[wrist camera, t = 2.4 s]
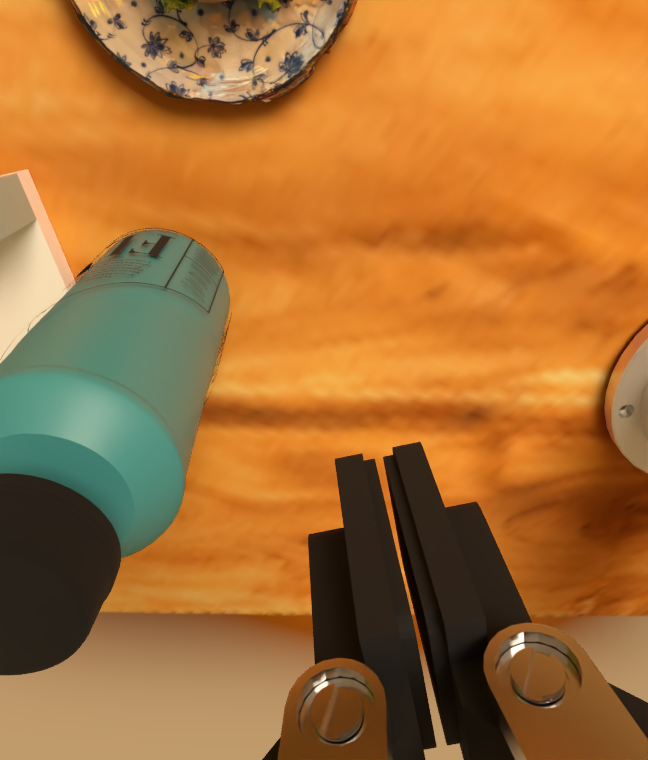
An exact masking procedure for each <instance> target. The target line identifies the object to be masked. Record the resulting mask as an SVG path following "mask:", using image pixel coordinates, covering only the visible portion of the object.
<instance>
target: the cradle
mask: <svg viewBox="0 0 648 760" xmlns="http://www.w3.org/2000/svg"><path fill="white" fill-rule="evenodd" d="M72 280H73V281H72ZM70 282H71V283H70ZM72 282H74V284H73V283H72ZM70 284H71V285H70ZM75 284H76V283H75V279H74V277H73V275H72V272H71V270H70V267H69V265H68V263H67V260H66V258H65V256H64V253H63V251H62V249H61V246H60V244H59V241H58V239H57V237H56V234H55V232H54V230H53V227H52V225H51V223H50V220H49V218H48V215H47V213H46V211H45V208H44V206H43V204H42V201H41V199H40V197H39V194H38V192H37V189H36V187H35V185H34V182H33V180H32V178H31V175H30V173H29V171H28V169H26V170H21V171H17V172H13V173H8V174H4V175H0V359H1V360H0V363H1V362H2V361H3V360H4V359H5V358H6V357H7V356H8V355H9V354H10V353H11V352H12V350H13V349H14V348H15V346H16V345H17V344H18V343H19V342H20V341H21V339H22V338H23V337H24V336H25V335H26V334H27V332H29V331H30V330H31V329H32V328H33V327H34V326H35V325H36V324H37V323H38V322H39V321H40V320H41V319H42V317H43V316H44V315H45V314H46V313H47V312H48V311H49V310H50V309H51V308H52V307H53V306H54V305H55V303H57V302H58V301H59V300H60V299H61V298H62V297H63V296H64V295H65V294H66V293H67V292H68V291H69V290H70V289H71V288H72V287H73V285H75ZM67 287H68V288H67ZM65 288H66V289H65ZM64 289H65V290H64ZM53 304H54V305H53ZM50 306H51V307H50ZM47 308H48V309H47ZM45 310H46V311H45ZM43 311H45V312H43ZM41 312H42V313H41ZM40 314H41V315H40ZM37 315H38V317H37ZM32 320H33V321H32ZM29 323H31V324H29ZM28 324H29V325H30V327H29V325H28ZM28 328H29V331H28ZM16 336H17V337H16ZM12 341H13V342H12ZM9 345H10V346H9ZM7 348H8V349H7ZM6 349H7V350H6ZM4 352H5V353H4ZM3 354H4V355H3ZM1 357H2V358H1Z"/></svg>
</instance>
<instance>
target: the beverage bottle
mask: <svg viewBox="0 0 648 760" xmlns="http://www.w3.org/2000/svg"><path fill="white" fill-rule="evenodd" d="M145 229H152V228H145ZM156 229H161V228H156ZM139 230H141V229H139ZM165 230H168V229H165ZM135 231H136V230H135ZM170 231H172V230H170ZM131 232H132V231H131ZM174 232H176V231H174ZM128 233H129V232H128ZM133 233H135V234H133ZM133 233H131V235H129V236H127V237H125V238H122V237H123V236H122V237H121V238H122V240H121V239H120V241H119V240H118V241H119V242H117V241H116V240H117V239H116V240H115V241H116V242H117V243H116V244H115V245H114V246H112V247H111V248H110V249H109V250H108V251H107V252H106V253H105V254H104V255H103V256H102V257H101V258H100V259H99V260H98V261H97V262H95V263H96V264H94V263H93V262H92V263H93V264H94V266H93V267H91V269H90V270H89V268H90V266H91V264H92V263H90V264H89V265H87V266H86V267H85V268H84V269H83V270H82V271H81V272H80V273H79V274H78V275H77V277H78V276H80V275H81V274H82V275H83V273H84V272H86V271H87V270H89V271H88V272H87V273H86V274H85V273H84V274H85V275H83V276H82V275H81V277H82V278H81V279H80V280H79V278H80V277H79V278H78V280H79V281H78V282H77V283H76V282H75V283H76V284H75V285H73V287H72V288H71V289H70V290H69V291H68V292H67V293H66V294H65V295H64V296H63V297H62V298H61V299H60V300H59V301H58V302H57V303H55V305H54V304H53V305H54V306H53V307H52V308H51V309H50V310H49V311H48V312H47V313H46V314H45V315H44V316H43V317H42V319H41V320H40V321H39V322H38V323H37V324H36V325H35V326H34V327H33V328H32V329H31V330H30V331H29V328H28V331H29V332H27V334H26V335H25V336H24V337H23V338H22V339H21V341H20V342H19V343H18V344H17V345H16V346H15V348H14V349H13V350H12V352H11V353H10V354H9V355H8V356H7V357H6V358H5V359H4V360H3V361H2V362H1V363H0V675H21V674H27V673H33V672H37V671H42V670H45V669H48V668H50V667H53V666H55V665H57V664H59V663H61V662H63V661H64V660H66V659H67V658H69V657H70V656H71V655H73V654H74V653H75V652H76V651H77V650H78V648H80V646H81V645H82V643H83V642H84V641H85V640H86V638H87V636H88V635H89V633H90V631H91V628H92V626H93V624H94V622H95V619H96V617H97V615H98V613H99V611H100V609H101V606H102V604H103V602H104V601H105V600H106V598H107V597H108V595H109V593H110V592H111V589H112V587H113V584H114V582H115V579H116V576H117V573H118V570H119V567H120V562H121V558H124V557H126V556H129V555H132V554H134V553H136V552H138V551H140V550H142V549H143V548H145V547H146V546H148V545H150V544H151V543H152V542H154V541H155V540H156V539H157V538H158V537H159V536H161V535H162V534H163V533H164V532H165V531H166V529H167V528H168V527H169V526H170V525H171V523H172V522H173V520H174V518H175V517H176V515H177V513H178V511H179V508H180V506H181V504H182V500H183V496H184V491H185V483H186V473H187V469H188V465H189V462H190V458H191V454H192V450H193V446H194V442H195V438H196V434H197V430H198V426H199V422H200V418H201V414H202V410H203V406H204V404H205V403H204V402H205V398H206V394H207V390H208V388H209V385H210V382H211V379H212V375H214V374H215V373H214V374H213V372H214V368H215V366H216V365H215V364H217V363H216V360H217V358H218V357H217V356H218V352H219V350H220V349H219V348H220V344H221V340H222V339H223V338H226V336H225V337H224V336H223V335H224V334H223V332H224V328H225V325H226V321H227V316H228V312H229V305H230V297H229V289H228V285H227V282H226V279H225V276H224V274H223V273H224V270H223V272H222V270H221V268H220V267H219V265H218V263H217V262H216V261H215V259H216V258H215V259H214V258H213V257H212V256H211V255H210V254H209V253H208V252H207V251H206V250H205V249H204V248H205V247H204V246H203V245H202V246H203V247H204V248H203V247H202V246H200V245H199V244H200V243H199V244H198V242H197V241H196V242H197V243H196V242H194V241H195V240H194V239H192V238H191V239H192V240H191V239H189V238H190V237H189V238H187V237H188V236H187V237H185V236H186V235H185V236H182V235H180V234H181V233H180V234H177V233H178V232H177V233H173V232H169V231H161V230H151V231H150V230H149V231H146V230H144V231H143V232H138V233H137V232H133ZM183 235H184V234H183ZM125 236H126V235H125ZM118 239H119V238H118ZM113 242H114V241H113ZM113 242H112V244H113ZM114 243H115V242H114ZM110 244H111V243H110ZM110 244H109V245H110ZM112 244H111V245H112ZM111 245H110V246H111ZM110 246H109V247H110ZM106 248H107V247H106ZM208 251H209V250H208ZM209 252H210V251H209ZM101 253H102V252H101ZM210 253H211V252H210ZM211 254H212V253H211ZM98 256H99V255H98ZM97 259H98V258H97ZM94 260H95V259H94ZM216 260H217V259H216ZM217 261H218V260H217ZM93 264H92V265H93ZM219 264H220V263H219ZM220 265H221V264H220ZM221 267H222V266H221ZM222 269H223V268H222ZM77 277H76V279H77ZM72 281H73V280H72ZM75 281H77V280H75ZM70 283H71V282H70ZM72 283H73V284H74V282H72ZM70 285H71V284H70ZM67 288H68V287H67ZM65 289H66V288H65ZM65 289H64V290H65ZM50 307H51V306H50ZM47 309H48V308H47ZM45 311H46V310H45ZM45 311H43V312H45ZM41 313H42V312H41ZM231 314H232V313H231ZM40 315H41V314H40ZM37 317H38V315H37ZM230 318H231V317H230ZM32 321H33V320H32ZM229 322H230V321H229ZM29 324H31V323H29ZM29 324H28V325H29ZM228 326H229V324H228ZM29 327H30V325H29ZM227 330H228V329H227ZM226 332H227V331H226ZM226 334H227V333H226ZM222 336H223V338H222ZM16 337H17V336H16ZM12 342H13V341H12ZM224 342H225V341H224ZM222 343H223V342H222ZM223 344H224V343H223ZM9 346H10V345H9ZM221 346H224V345H222V344H221ZM7 349H8V348H7ZM7 349H6V350H7ZM222 350H223V348H222ZM222 350H221V351H222ZM4 353H5V352H4ZM219 353H221V352H219ZM221 354H222V353H221ZM3 355H4V354H3ZM1 358H2V357H1ZM220 358H221V356H220ZM0 360H1V359H0ZM220 360H221V359H220ZM217 362H218V361H217ZM217 365H218V364H217ZM218 366H219V365H218ZM215 369H216V368H215ZM215 372H216V371H215ZM215 376H216V375H215ZM213 380H215V379H213ZM212 382H213V381H212ZM210 393H211V392H210ZM207 399H208V398H207ZM206 401H207V400H206Z"/></svg>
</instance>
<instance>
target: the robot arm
mask: <svg viewBox="0 0 648 760" xmlns="http://www.w3.org/2000/svg"><path fill="white" fill-rule="evenodd" d="M604 412H605V419H606V426H607V429H608V431H609V434H610V436H611V439H612V441H613V442H614V444H615V445H616V446H617V448H618V449H619V450H620V451H621V453H622V454H623V455H624V456H625V457H626V458H627V459H628V460H629V461H630V462H631V463H632V464H633V465H634V466H635V467H637V468H638V469H640V470H642V471H643V472H645V473H647V474H648V324H647V325H646V326H645V327H644V328H643V329H642V330H641V331H640V332H639V333H638V334H637V335H636V336H635V337H634V339H633V340H632V341H631V343H630V344H629V345H628V347H627V348H626V349H625V351H624V352H623V353H622V355H621V357H620V359H619V361H618V363H617V364H616V366H615V368H614V370H613V372H612V374H611V378H610V381H609V384H608V387H607V391H606V397H605V408H604ZM383 459H384V465H385V470H386V476H387V481H388V486H389V492H390V497H391V503H392V508H393V514H394V519H395V524H396V530H397V535H398V541H399V546H400V551H401V557H402V562H403V566H404V571H405V575H406V579H407V583H408V587H409V592H410V596H411V600H412V604H413V608H414V612H415V616H416V620H417V624H418V629H419V633H420V637H421V641H422V645H423V649H424V653H425V657H426V661H427V665H428V670H429V674H430V678H431V682H432V686H433V690H434V694H435V698H436V703H437V707H438V711H439V714H440V719H441V723H442V727H443V731H444V735H445V739H446V743H447V745H452V744H458V743H460V747H461V750H462V754H463V758H464V760H648V703H647V702H645V701H643V700H641V699H639V698H637V697H635V696H633V695H631V694H629V693H627V692H625V691H623V690H621V689H619V688H617V687H615V686H613V685H612V684H610V683H608V682H607V681H606V680H605V678H604V677H603V675H602V674H601V673H600V671H599V670H598V668H597V667H596V666H595V664H594V663H593V661H592V660H591V659H590V657H589V656H588V655H587V653H586V652H585V650H584V649H583V648H582V647H581V646H580V645H579V644H578V643H577V642H576V641H575V640H574V639H573V638H571V637H570V636H568V635H567V634H565V633H564V632H562V631H561V630H559V629H556V628H553V627H550V626H547V625H545V624H537V623H532V621H531V619H530V617H529V615H528V612H527V610H526V608H525V606H524V604H523V601H522V599H521V597H520V595H519V592H518V590H517V588H516V586H515V584H514V581H513V579H512V577H511V575H510V573H509V570H508V568H507V566H506V564H505V561H504V559H503V557H502V555H501V553H500V550H499V548H498V546H497V544H496V541H495V539H494V537H493V535H492V533H491V530H490V528H489V526H488V524H487V521H486V519H485V517H484V515H483V513H482V510H481V508H480V507H479V505H478V503H477V502H472V503H467V504H462V505H456V506H451V507H446V508H445V506H444V504H443V501H442V498H441V496H440V493H439V490H438V487H437V485H436V482H435V479H434V477H433V474H432V471H431V469H430V466H429V463H428V460H427V458H426V455H425V452H424V450H423V447H422V444H421V443H420V442H417V443H412V444H407V445H402V446H397V447H393V455H390V456H385V457H383ZM335 465H336V472H337V480H338V487H339V495H340V502H341V509H342V517H343V524H344V528H339V529H334V530H329V531H324V532H319V533H314V534H309V537H308V547H309V565H310V583H311V601H312V617H313V618H312V619H313V637H314V655H315V665H314V666H312V667H310V668H309V669H308V670H307V671H305V672H304V673H303V674H302V675H301V676H300V677H299V678H298V679H297V680H296V682H295V684H294V685H293V687H292V688H291V690H290V692H289V695H288V698H287V701H286V705H285V710H284V717H283V724H282V731H281V737H280V739H279V740H278V741H277V742H276V743H275V745H274V746H273V747H272V748H271V750H270V751H269V752H268V753H267V754H266V756H265V757H264V758H263V759H262V760H425V755H424V749H430V748H435V747H436V741H435V736H434V731H433V725H432V721H431V714H430V709H429V704H428V698H427V693H426V687H425V683H424V676H423V671H422V666H421V660H420V655H419V650H418V644H417V639H416V634H415V629H414V624H413V620H412V615H411V611H410V607H409V602H408V598H407V594H406V590H405V585H404V581H403V577H402V573H401V568H400V564H399V560H398V556H397V552H396V547H395V543H394V539H393V535H392V530H391V526H390V522H389V518H388V514H387V509H386V505H385V501H384V497H383V492H382V488H381V484H380V480H379V475H378V471H377V467H376V463H375V459H370V460H365V461H363V456H362V454H357V455H352V456H347V457H342V458H337V459H335Z"/></svg>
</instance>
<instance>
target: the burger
mask: <svg viewBox="0 0 648 760" xmlns="http://www.w3.org/2000/svg"><path fill="white" fill-rule="evenodd" d="M357 1H358V0H70V2H71V3H72V5H73V7H74V9H75V11H76V13H77V15H78V17H79V19H80V20H81V22H82V24H83V25H84V27H85V28H86V30H87V31H88V32H89V33H90V34H91V35H92V37H93V38H94V39H95V40H96V41H97V42H98V44H99V45H100V46H101V47H102V48H103V49H104V50H105V51H106V52H107V53H108V54H109V55H110V56H111V57H112V58H113V59H114V60H115V61H116V62H118V63H119V64H121V65H122V66H123V67H125V68H126V69H127V70H128V71H129V72H131V73H132V74H134V75H135V76H137V77H138V78H140V79H141V80H143V81H144V82H146V83H147V84H149V85H150V86H152V87H154V88H155V89H157V90H158V91H160V92H162V93H164V94H166V95H168V96H170V97H174V98H181V99H191V100H200V101H209V102H218V103H226V104H232V105H241V104H243V103H245V102H252V101H261V100H262V101H264V102H266V103H267V102H269V101H272V100H274V99H276V98H279V97H281V96H284V95H285V94H287V93H288V92H289V91H291V90H292V89H294V88H295V87H297V86H298V85H299V84H301V83H302V82H304V81H305V80H307V79H308V78H309V77H310V76H311V75H312V73H313V72H314V71H315V69H316V68H315V66H314V64H315V63H316V62H317V61H318V60H319V59H320V58H321V56H322V55H323V53H330V50H329V49H330V47H332V45H333V44H334V42H335V41H336V39H337V37H338V32H339V30H340V28H341V27H342V25H343V24H344V25H347V24H348V22H349V19H350V17H351V15H352V13H353V11H354V8H355V6H356V3H357Z"/></svg>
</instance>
